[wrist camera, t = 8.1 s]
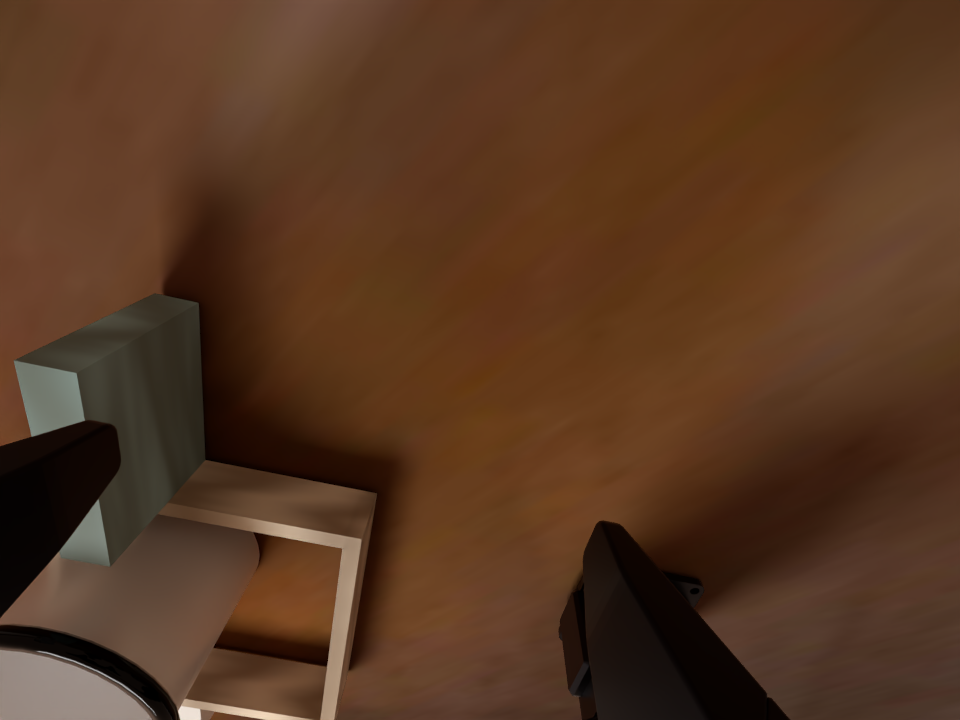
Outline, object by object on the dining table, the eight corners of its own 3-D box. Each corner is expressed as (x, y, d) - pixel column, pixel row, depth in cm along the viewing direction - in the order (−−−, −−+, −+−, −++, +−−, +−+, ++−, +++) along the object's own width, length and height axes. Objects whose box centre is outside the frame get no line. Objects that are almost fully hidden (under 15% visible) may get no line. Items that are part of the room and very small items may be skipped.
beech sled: (401, 346, 20) (362, 431, 15) (347, 678, 31) (312, 803, 25) (40, 268, 19) (-152, 326, 14) (111, 638, 30) (19, 759, 24)
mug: (151, 438, 23) (-34, 601, 15) (305, 541, 26) (218, 727, 18) (50, 556, 27) (-139, 735, 19) (193, 635, 30) (81, 822, 22)
